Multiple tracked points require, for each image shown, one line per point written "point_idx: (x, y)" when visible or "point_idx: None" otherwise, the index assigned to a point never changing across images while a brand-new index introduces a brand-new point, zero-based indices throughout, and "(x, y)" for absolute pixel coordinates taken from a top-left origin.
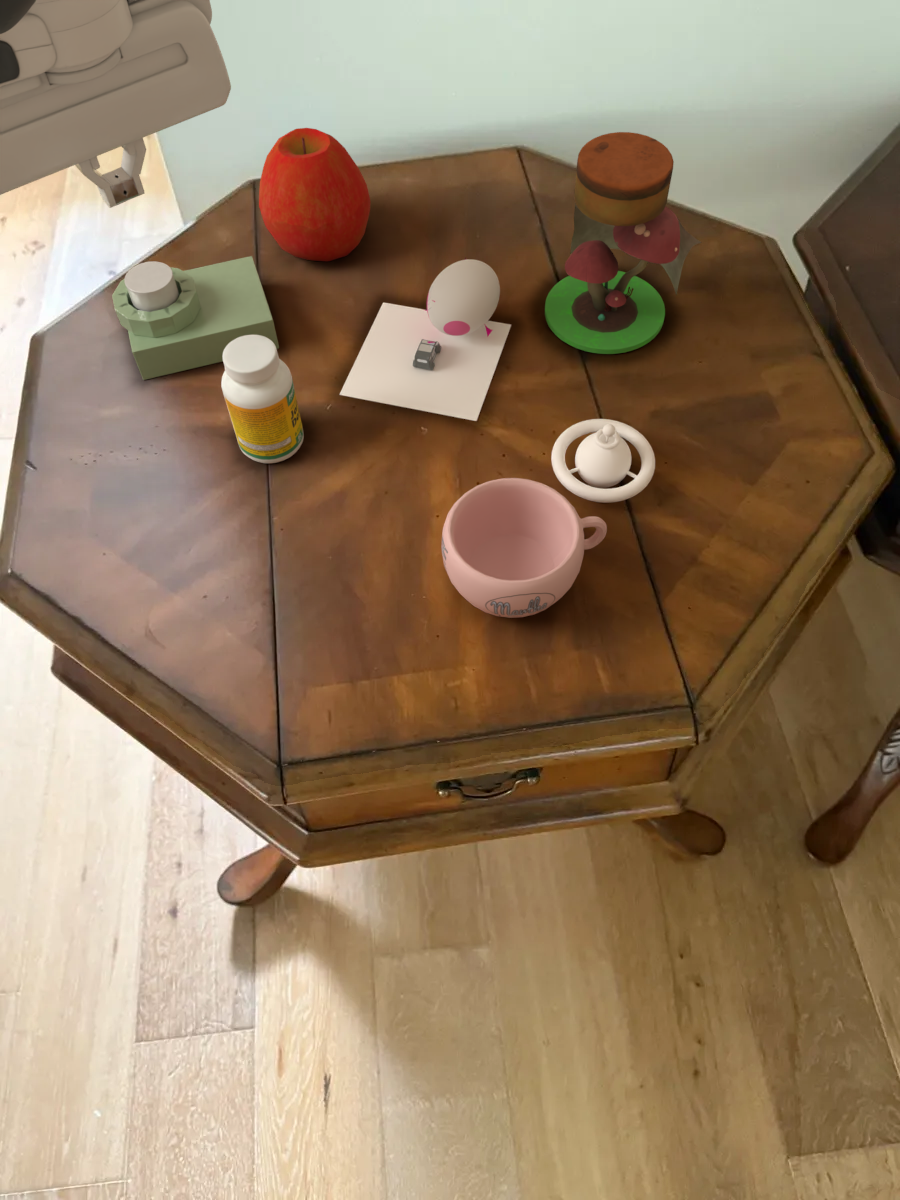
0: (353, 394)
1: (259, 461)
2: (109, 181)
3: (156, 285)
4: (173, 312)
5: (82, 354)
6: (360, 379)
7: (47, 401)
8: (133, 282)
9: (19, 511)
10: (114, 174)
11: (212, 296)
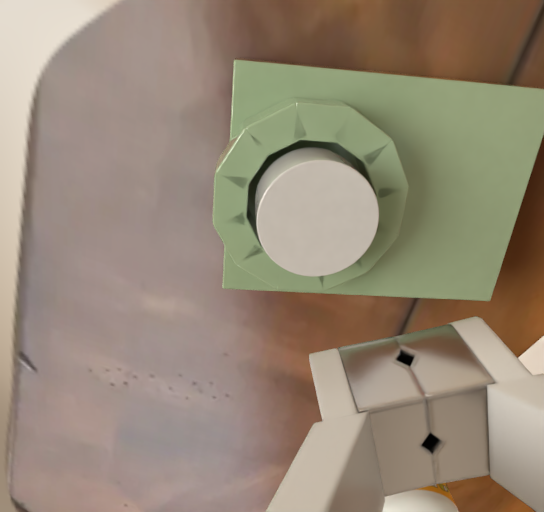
0: None
1: None
2: (385, 463)
3: (327, 260)
4: (331, 282)
5: (121, 145)
6: (528, 368)
7: (50, 243)
8: (277, 227)
9: (14, 427)
10: (428, 421)
11: (419, 194)
